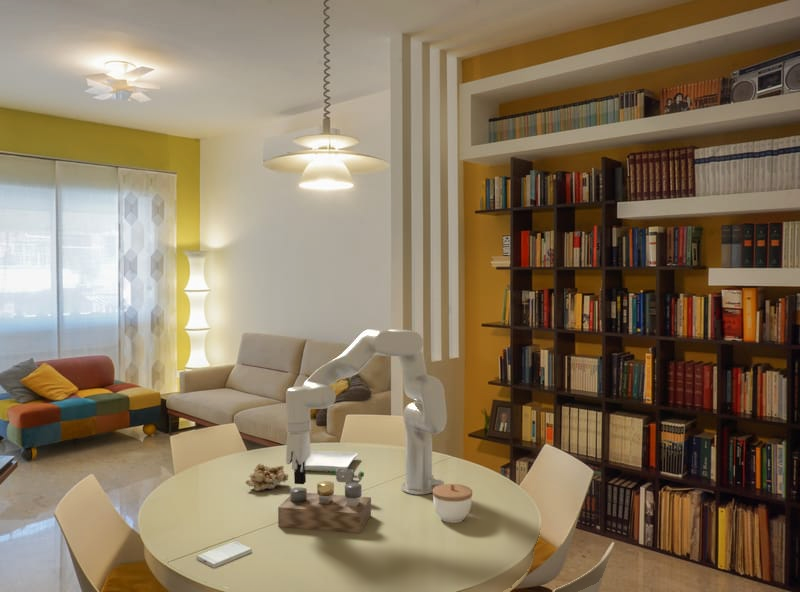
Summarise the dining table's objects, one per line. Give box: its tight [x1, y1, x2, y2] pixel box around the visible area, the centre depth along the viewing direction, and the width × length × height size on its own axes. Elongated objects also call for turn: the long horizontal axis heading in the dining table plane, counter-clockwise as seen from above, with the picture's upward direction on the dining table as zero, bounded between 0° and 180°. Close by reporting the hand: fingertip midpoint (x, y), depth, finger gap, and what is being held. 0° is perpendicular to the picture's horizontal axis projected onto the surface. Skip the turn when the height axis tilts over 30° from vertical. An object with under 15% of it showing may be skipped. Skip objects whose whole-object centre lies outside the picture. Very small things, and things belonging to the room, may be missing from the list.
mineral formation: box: [244, 463, 289, 492], centre depth 230 cm, size 8×13×15 cm
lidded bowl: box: [432, 483, 473, 524], centre depth 201 cm, size 13×13×11 cm
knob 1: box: [289, 486, 308, 503], centre depth 200 cm, size 5×5×8 cm
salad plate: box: [305, 450, 359, 473], centre depth 257 cm, size 21×21×3 cm
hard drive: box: [195, 540, 253, 569], centre depth 174 cm, size 2×8×12 cm
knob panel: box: [277, 492, 372, 534], centre depth 199 cm, size 26×14×6 cm, turn 79°
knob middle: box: [316, 480, 335, 505], centre depth 199 cm, size 5×5×8 cm
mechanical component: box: [333, 468, 365, 485], centre depth 218 cm, size 3×10×10 cm, turn 78°
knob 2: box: [344, 483, 363, 507], centre depth 197 cm, size 5×5×8 cm
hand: (300, 483), depth 201 cm, fingers closed
